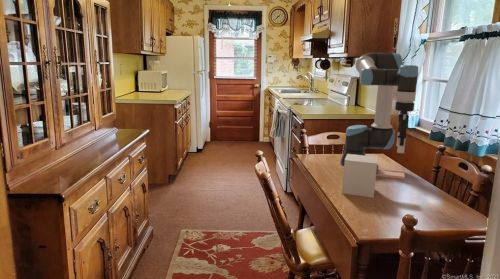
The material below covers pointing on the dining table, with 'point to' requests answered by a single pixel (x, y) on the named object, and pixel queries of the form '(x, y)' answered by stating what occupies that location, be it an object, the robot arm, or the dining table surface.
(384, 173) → the ticket strip
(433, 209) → the dining table surface
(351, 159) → the block
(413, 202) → the dining table surface
